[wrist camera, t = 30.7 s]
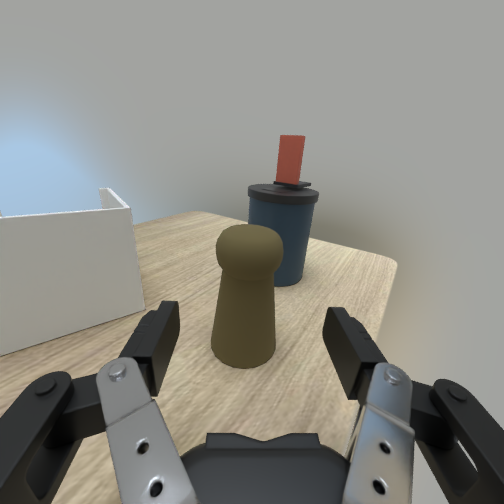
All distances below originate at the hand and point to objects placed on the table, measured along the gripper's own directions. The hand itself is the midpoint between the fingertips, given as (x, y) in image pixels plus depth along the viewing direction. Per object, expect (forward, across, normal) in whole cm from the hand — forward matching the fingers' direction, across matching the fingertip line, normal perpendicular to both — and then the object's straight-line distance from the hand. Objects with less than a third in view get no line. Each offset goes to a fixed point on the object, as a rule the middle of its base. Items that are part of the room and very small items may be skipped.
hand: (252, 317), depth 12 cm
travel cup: (+20, -4, +8) cm, 22 cm away
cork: (+6, 0, +8) cm, 11 cm away
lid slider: (+22, -6, -4) cm, 23 cm away
